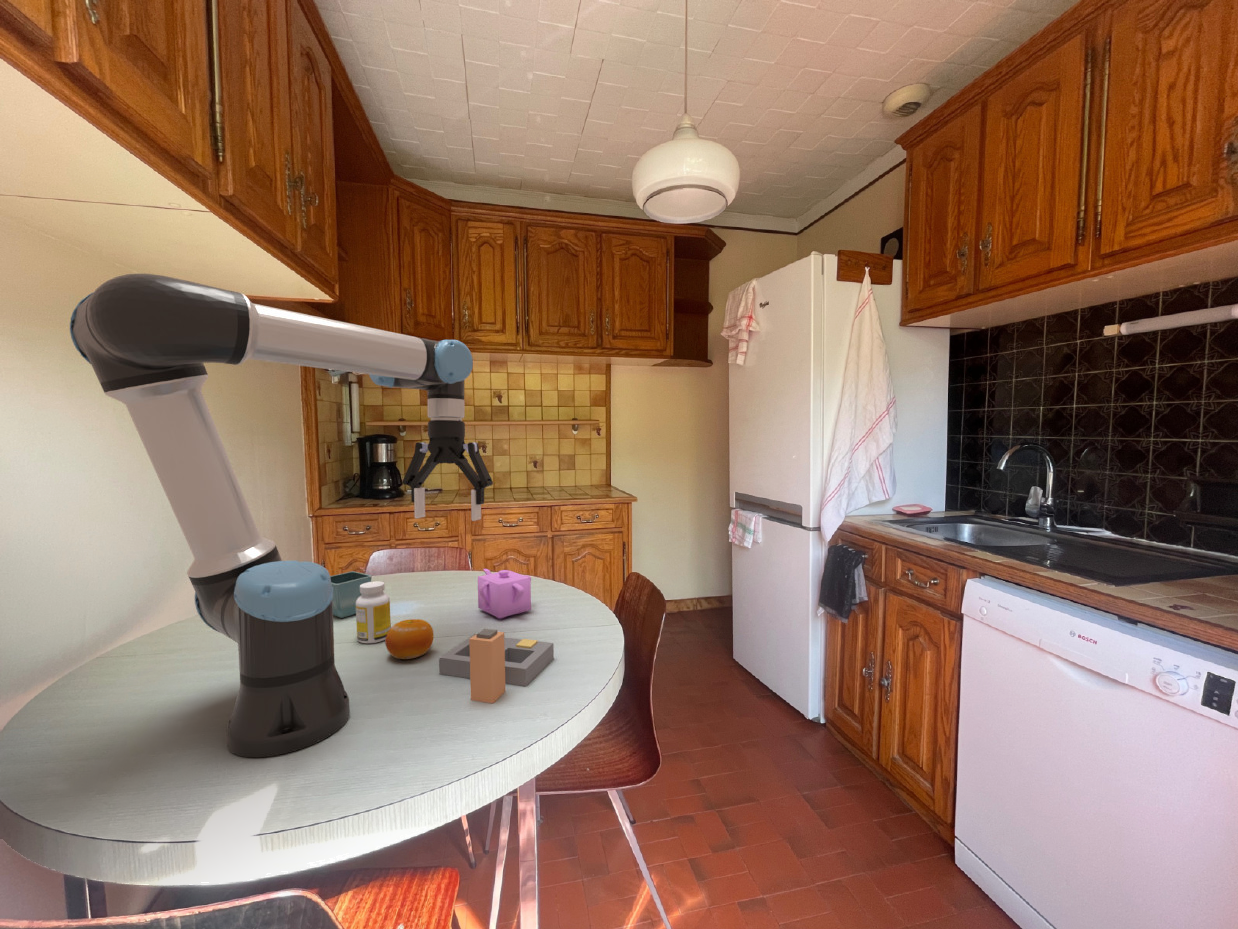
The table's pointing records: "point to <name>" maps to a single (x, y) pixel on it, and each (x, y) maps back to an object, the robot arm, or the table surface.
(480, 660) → the plug
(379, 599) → the pill bottle
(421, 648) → the fruit
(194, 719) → the table surface
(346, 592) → the flower pot
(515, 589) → the teapot
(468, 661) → the socket board
